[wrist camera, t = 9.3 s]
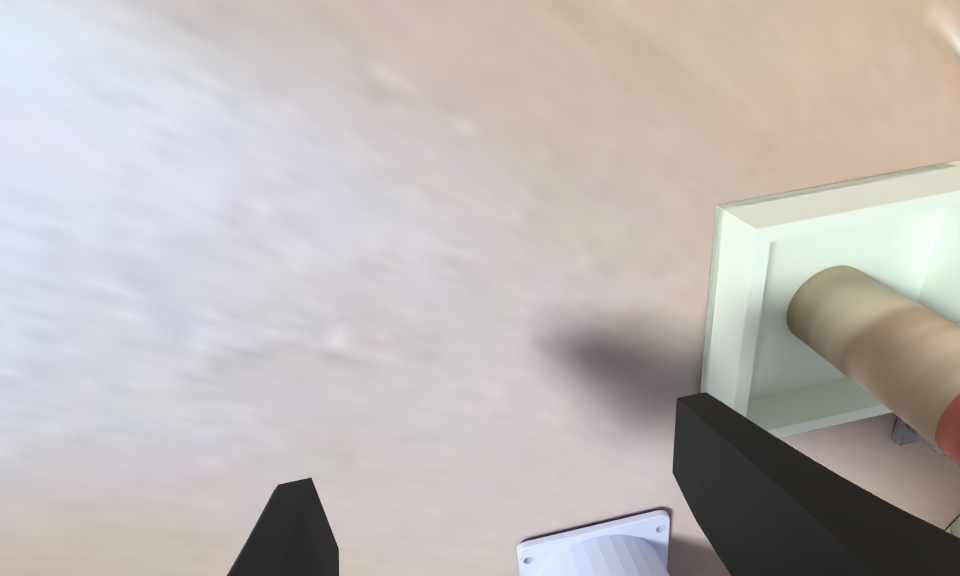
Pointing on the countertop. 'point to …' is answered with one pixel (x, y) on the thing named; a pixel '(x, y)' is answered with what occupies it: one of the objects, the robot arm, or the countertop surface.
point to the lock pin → (885, 348)
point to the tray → (801, 254)
